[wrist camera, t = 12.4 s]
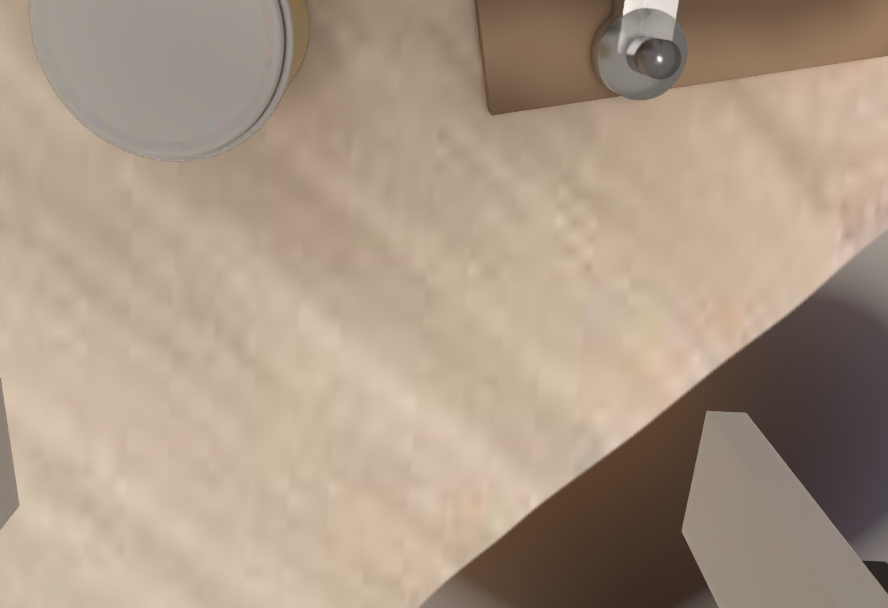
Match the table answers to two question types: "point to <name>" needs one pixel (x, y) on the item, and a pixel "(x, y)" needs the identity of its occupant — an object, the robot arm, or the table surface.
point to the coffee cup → (170, 68)
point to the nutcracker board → (707, 33)
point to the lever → (640, 48)
